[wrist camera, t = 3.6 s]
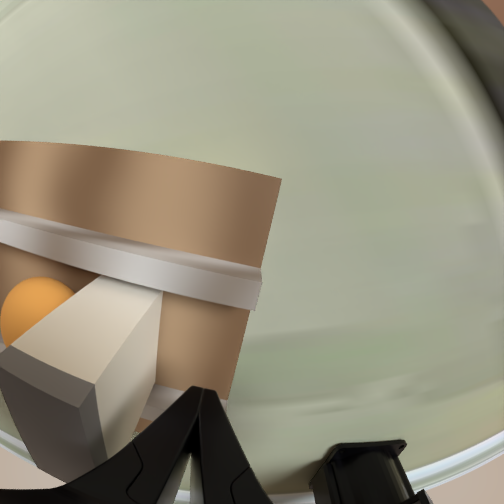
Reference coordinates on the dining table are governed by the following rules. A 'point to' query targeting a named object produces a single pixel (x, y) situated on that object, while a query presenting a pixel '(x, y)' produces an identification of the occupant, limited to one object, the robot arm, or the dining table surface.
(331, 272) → the dining table surface
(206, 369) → the board
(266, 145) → the dining table surface
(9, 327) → the ball
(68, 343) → the plunger
